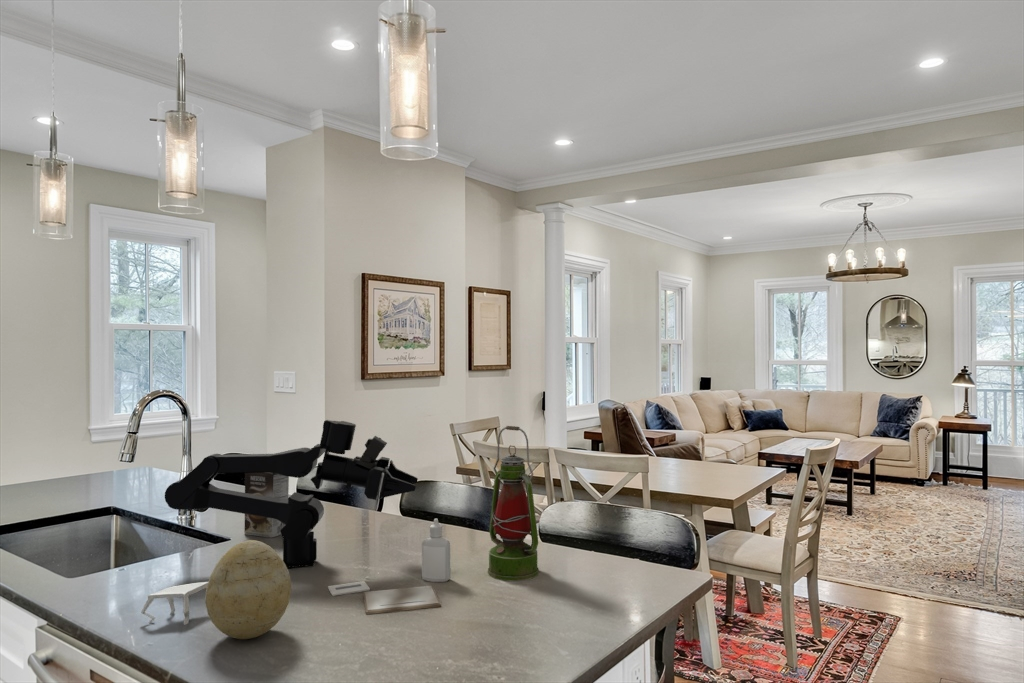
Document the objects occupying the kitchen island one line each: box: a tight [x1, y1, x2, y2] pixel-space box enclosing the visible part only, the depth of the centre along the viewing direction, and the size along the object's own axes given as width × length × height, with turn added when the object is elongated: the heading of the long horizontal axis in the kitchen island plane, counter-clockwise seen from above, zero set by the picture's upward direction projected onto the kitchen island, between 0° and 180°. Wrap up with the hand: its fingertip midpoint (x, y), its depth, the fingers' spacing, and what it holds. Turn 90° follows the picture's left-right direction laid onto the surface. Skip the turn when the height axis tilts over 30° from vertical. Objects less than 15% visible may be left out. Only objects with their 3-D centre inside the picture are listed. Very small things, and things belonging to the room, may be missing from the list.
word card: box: [327, 580, 371, 597], centre depth 129 cm, size 7×5×1 cm
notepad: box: [362, 585, 442, 615], centre depth 122 cm, size 13×10×1 cm
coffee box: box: [243, 472, 290, 538], centre depth 171 cm, size 9×6×16 cm
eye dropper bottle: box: [421, 518, 451, 583], centre depth 134 cm, size 4×6×12 cm
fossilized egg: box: [204, 539, 292, 640], centre depth 107 cm, size 13×13×15 cm
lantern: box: [487, 425, 540, 582], centre depth 139 cm, size 14×11×30 cm
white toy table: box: [141, 581, 208, 625], centre depth 116 cm, size 12×8×5 cm
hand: (416, 484), depth 148 cm, fingers open, 9 cm apart
